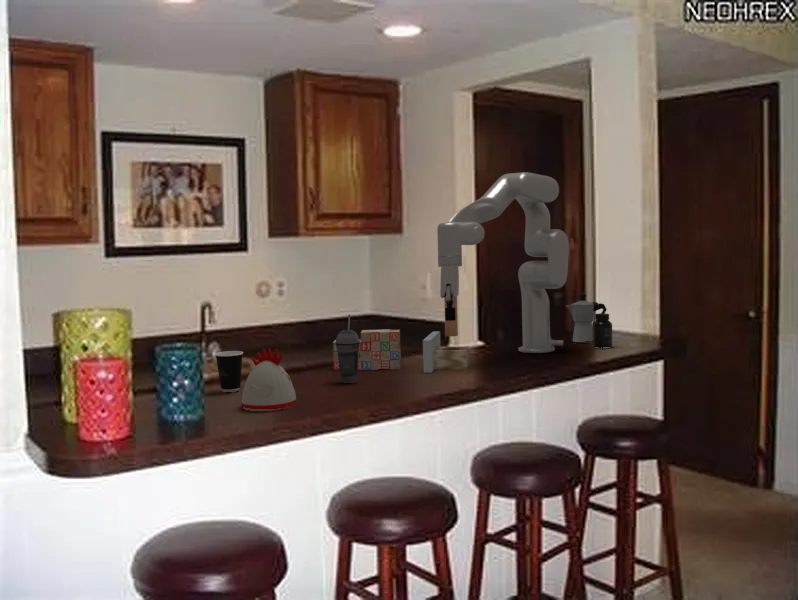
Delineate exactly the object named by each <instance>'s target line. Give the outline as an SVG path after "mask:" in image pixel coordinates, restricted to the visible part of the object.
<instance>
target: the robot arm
mask: <svg viewBox="0 0 798 600" xmlns="http://www.w3.org/2000/svg"><path fill="white" fill-rule="evenodd" d="M559 193H560V186H559V184H558V181H556V179H555V178H553V177H551V176H548V175H543V174H537V173H533V172H528V171H527V172H525V171H523V172H512V173H505V174H503V175H500V177H498V179H496V181H495V182H494V183H492V185H491V186H490V187H489V188H488V189H487V190H486V192H485V193H484V194H483V195H482V196H481V197H480V198H478V199H477V200H475V201H473V202H471V203H469V204H468V205H467V206H465V207H463V208H461V209H459V211H457V212H456V213H454V214H453V215H452V217H450V219H449V220H448V221H447V222H441V223H439V224H438V225H437V230H436V231H437V232H436V233H437V267H439V268H440V289H439V290H440V298H441V299H444V296H445V304H444V321H445V320H446V321H455V320H456V316H455V308H454V298H455V297H457V298H458V296H459V295H460V293H459V291H460V280H459V278H460V276H459V275H460V274H459V267H463V252H462V251H463V249H462V246H475V245H478V244H479V243H481V242H482V241H484V238H485V229H484V226H482V223H486V222H488V221H489V222H490V221H491V220H494V219H496V218H498V217H499V216H501V215H502V213H503V212H504V211H505V210H506V209H507V208H508V207H509V206H510V204H511V203H512V202H514V200H516V202H518V203H519V205H520V206H521V208H522V209H523V212H524V216H525V226H524V227H525V228H524V229H525V231H524V251H525V254H527V255H528V256H530V257H535V258H547V260H530V261H526V262H524V263H522V264H521V266H519V269H518V272H517V274H518V283H519V286H520V292H521V325H522V331H521V332H522V345H521V346H519V347H518V351H519V352H521V353H526V354H536V353H537V354H542V353H543V354H545V353H552V352H554V351H555V350H556V349H555V348H556V347H555V346H559V347H560V346H561V347H563V346H564V340H562V339H552V336H551V326H550V325H551V321H550V320H551V319H550V317H551V316H550V314H551V313H550V310H551V309H550V298H549V295H548V293H547V291H546V289H548V290H551V289H553V290H554V289H555V290H556V289H561V288H562V287H563V286H564V285H566V281H567V278H568V271H569V269H568V268H569V255H570V254H569V253H570V242H569V241H570V240H569V238H568V236H567V234H566V233H565V232H564V231H563V230H561V229H555V228H552V229H551V214H550V210H549V208H548V207H547V206H546V204H547V203H551V202H553V201H555V200H556V199H557V198H558V196H559ZM545 203H546V204H545ZM452 293H453V294H452ZM451 296H453V298H451Z"/></svg>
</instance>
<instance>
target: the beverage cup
mask: <svg viewBox="0 0 798 600" xmlns="http://www.w3.org/2000/svg"><path fill="white" fill-rule="evenodd" d="M347 315H348V316H347V318H348V319H347V320H348V321H347V329H343V330H341V331H340V332H339V333H338V334H337V335H336V339H335V340H336V343H335V344H336V349H337V352H338V360H339V368H340V370H339V375H340V379H341V383H342V382H343V383H352V384H355V383H354V382H356V383H358V374H359V373H358V371H359V370H358V352H359V346H360V341H359V339H360V337H359V335H358V334H357V332H355V331H354V330H352V329H350V328H351V314H347ZM343 383H342V384H343Z"/></svg>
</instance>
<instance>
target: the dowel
mask: <svg viewBox="0 0 798 600" xmlns="http://www.w3.org/2000/svg"><path fill="white" fill-rule="evenodd" d="M452 294H453V293H452ZM451 298H453V296H451ZM443 301H444V305H445V296H444V298H443ZM454 308H455V316H456V320H455V321H446V320H445V319H444V336H445V337H458V336H459V335H458V334H459V328H458V327H459V326H458V324H459V323H458V296H457V297H455V298H454Z"/></svg>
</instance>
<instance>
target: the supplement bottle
mask: <svg viewBox="0 0 798 600" xmlns="http://www.w3.org/2000/svg"><path fill="white" fill-rule="evenodd" d="M592 336H593V343H592V348H593V347H599V348H601V347H602V348H603V347H612V348H613V322H611V321H610V313H606V312H605V313H602V312H600V313H599V312H598V313H594V321H592Z"/></svg>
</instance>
